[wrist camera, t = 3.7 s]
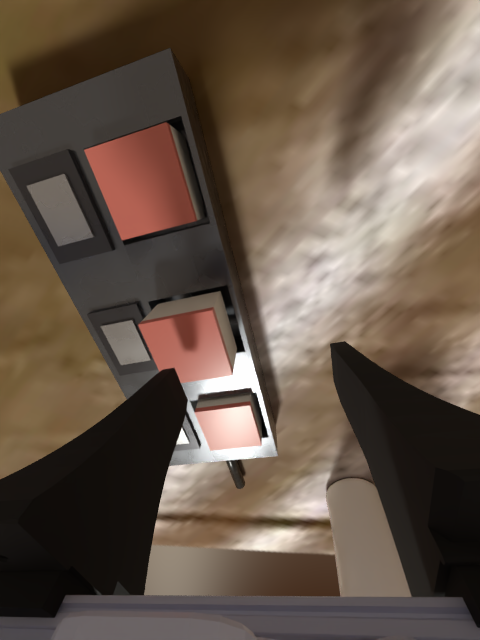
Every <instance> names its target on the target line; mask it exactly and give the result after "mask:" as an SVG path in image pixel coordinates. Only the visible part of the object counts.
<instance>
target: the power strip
mask: <svg viewBox="0 0 480 640" xmlns="http://www.w3.org/2000/svg"><path fill="white" fill-rule="evenodd" d="M165 122H167V123H168V124H169V125H171V126H172V127H173V128H175V129H176V130H177V131H179V132H180V133H181V134H183V135H184V136H185V140H186V144H187V147H188V151H189V154H190V158H191V162H192V165H193V169H194V173H195V176H196V180H197V183H198V187H199V191H200V194H201V198H202V202H203V205H204V209H205V212H206V216H207V217H205V218H202V219H200V220H197V221H194V222H191V223H187V224H183V225H179V226H175V227H171V228H168V229H164V230H160V231H156V232H152V233H148V234H145V235H141V236H137V237H133V238H129V239H125V240H122V239H121V237H120V235H119V232H118V230H117V227H116V225H115V223H114V220H113V218H112V216H111V213H110V211H109V208H108V206H107V204H106V201H105V199H104V197H103V194H102V192H101V189H100V187H99V185H98V182H97V180H96V178H95V175H94V173H93V170H92V168H91V166H90V163H89V161H88V159H87V156H86V154H85V151H84V150H85V149H88V148H91V147H94V146H97V145H100V144H103V143H106V142H109V141H112V140H115V139H118V138H121V137H124V136H127V135H130V134H133V133H136V132H139V131H142V130H145V129H148V128H151V127H153V126H156V125H159V124H162V123H165ZM0 171H1V173H2V174H3V176H4V178H5V180H6V182H7V183H8V185H9V187H10V189H11V191H12V192H13V194H14V196H15V198H16V200H17V201H18V203H19V205H20V207H21V209H22V211H23V212H24V214H25V216H26V218H27V220H28V221H29V223H30V225H31V227H32V229H33V230H34V232H35V234H36V236H37V238H38V239H39V241H40V243H41V245H42V247H43V248H44V250H45V252H46V254H47V256H48V258H49V259H50V261H51V263H52V265H53V267H54V268H55V270H56V272H57V274H58V276H59V277H60V279H61V281H62V283H63V285H64V286H65V288H66V290H67V292H68V294H69V295H70V297H71V299H72V301H73V303H74V305H75V306H76V308H77V310H78V312H79V314H80V315H81V317H82V319H83V321H84V323H85V324H86V326H87V328H88V330H89V332H90V333H91V335H92V337H93V339H94V341H95V342H96V344H97V346H98V348H99V350H100V352H101V353H102V355H103V357H104V359H105V361H106V362H107V364H108V366H109V368H110V370H111V371H112V373H113V375H114V377H115V379H116V380H117V382H118V384H119V386H120V388H121V389H122V391H123V393H124V395H125V397H126V399H128V398H130V397H131V396H132V395H133V394H134V393H135V392H136V391H138V390H139V389H140V388H141V387H142V386H143V385H144V384H146V383H147V382H148V381H149V380H150V379H151V378H152V377H154V376H155V375H156V374H157V373H159V370H158V368H157V365H156V363H155V361H154V359H153V357H152V354H151V352H150V350H149V348H148V346H147V343H146V341H145V339H144V337H143V335H142V333H141V330H140V328H139V326H138V324H139V323H140V322H141V321H142V320H143V319H144V318H145V317H146V316H147V315H148V314H149V313H150V312H151V311H152V310H153V309H154V307H155V306H156V305H157V304H160V303H165V302H170V301H174V300H179V299H184V298H189V297H194V296H198V295H203V294H208V293H213V292H218V291H221V294H222V298H223V301H224V305H225V308H226V312H227V315H228V319H229V322H230V326H231V329H232V332H233V336H234V339H235V343H236V346H237V351H236V358H235V364H234V370H233V376H226V377H219V378H213V379H206V380H199V381H192V382H186V383H181V385H182V387H183V389H184V392H185V394H186V397H187V399H188V403H187V409H186V414H185V419H184V422H183V426H182V429H181V432H180V435H179V438H178V441H177V444H176V447H175V449H174V452H173V455H172V458H171V461H170V464H169V466H172V465H183V464H194V463H205V462H216V461H226V462H227V465H228V468H229V470H230V473H231V475H232V478H233V480H234V483H235V485H236V487H237V488H238V489H241V488H243V487H244V485H245V481H244V478H243V476H242V473H241V470H240V467H239V465H238V462H237V460H238V459H249V458H260V457H271V456H278V453H277V437H276V425H275V421H274V417H273V413H272V409H271V405H270V401H269V397H268V393H267V389H266V385H265V381H264V377H263V373H262V369H261V365H260V361H259V357H258V353H257V349H256V345H255V341H254V337H253V333H252V329H251V325H250V321H249V317H248V313H247V309H246V305H245V300H244V296H243V292H242V288H241V284H240V280H239V276H238V272H237V268H236V264H235V260H234V256H233V252H232V248H231V244H230V240H229V236H228V232H227V228H226V224H225V220H224V216H223V212H222V208H221V204H220V200H219V196H218V192H217V188H216V184H215V180H214V176H213V172H212V168H211V164H210V160H209V156H208V152H207V148H206V144H205V140H204V136H203V132H202V128H201V124H200V120H199V116H198V112H197V108H196V104H195V100H194V96H193V92H192V88H191V84H190V80H189V77H188V76H187V74H186V73H185V71H184V69H183V68H182V66H181V65H180V63H179V61H178V60H177V58H176V56H175V55H174V53H173V52H172V50H171V48H168V49H166V50H163V51H161V52H158V53H156V54H153V55H151V56H148V57H145V58H143V59H140V60H138V61H135V62H133V63H130V64H127V65H125V66H122V67H120V68H117V69H115V70H112V71H110V72H107V73H104V74H102V75H99V76H97V77H94V78H92V79H89V80H86V81H84V82H81V83H79V84H76V85H74V86H71V87H68V88H66V89H63V90H61V91H58V92H56V93H53V94H51V95H48V96H45V97H43V98H40V99H38V100H35V101H33V102H30V103H27V104H25V105H22V106H20V107H17V108H15V109H12V110H10V111H7V112H4V113H2V114H0ZM252 392H255V394H256V397H257V401H258V405H259V408H260V412H261V415H262V446H253V447H243V448H233V449H222V450H212V451H210V448H209V446H208V444H207V441H206V439H205V436H204V434H203V432H202V429H201V427H200V425H199V422H198V420H197V417H196V415H195V413H194V412H195V409H196V406H197V403H198V400H201V399H208V398H215V397H223V396H230V395H238V394H245V393H252Z"/></svg>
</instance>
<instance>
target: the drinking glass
mask: <svg viewBox="0 0 480 640" xmlns="http://www.w3.org/2000/svg"><path fill="white" fill-rule="evenodd" d="M326 502H327V507H328V511H329V516H330V522H331V529H332V536H333V543H334V550H335V558H336V565H337V572H338V579H339V587H340V594H341V597H412V596H411V593H410V590H409V587H408V584H407V580H406V577H405V574H404V571H403V568H402V564H401V561H400V558H399V555H398V552H397V549H396V546H395V542H394V539H393V536H392V533H391V530H390V527H389V524H388V521H387V518H386V515H385V512H384V509H383V506H382V503H381V500H380V497H379V494H378V491H377V488H376V486H375V485H373V484H372V483H371V482H369V481H366V480H364V479H359V478H347V479H342V480H339V481H337V482H335V483H333V484H332V485H331V486H330V487H329V488H328V490H327V493H326Z"/></svg>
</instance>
